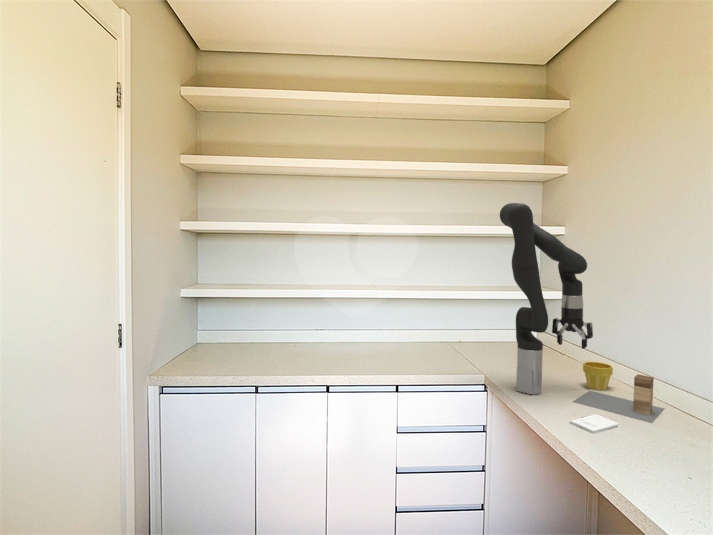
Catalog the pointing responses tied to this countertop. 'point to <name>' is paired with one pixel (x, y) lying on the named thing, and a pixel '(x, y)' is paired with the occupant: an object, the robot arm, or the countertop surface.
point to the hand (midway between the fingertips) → (571, 346)
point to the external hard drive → (594, 423)
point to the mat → (616, 406)
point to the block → (643, 394)
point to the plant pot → (597, 374)
